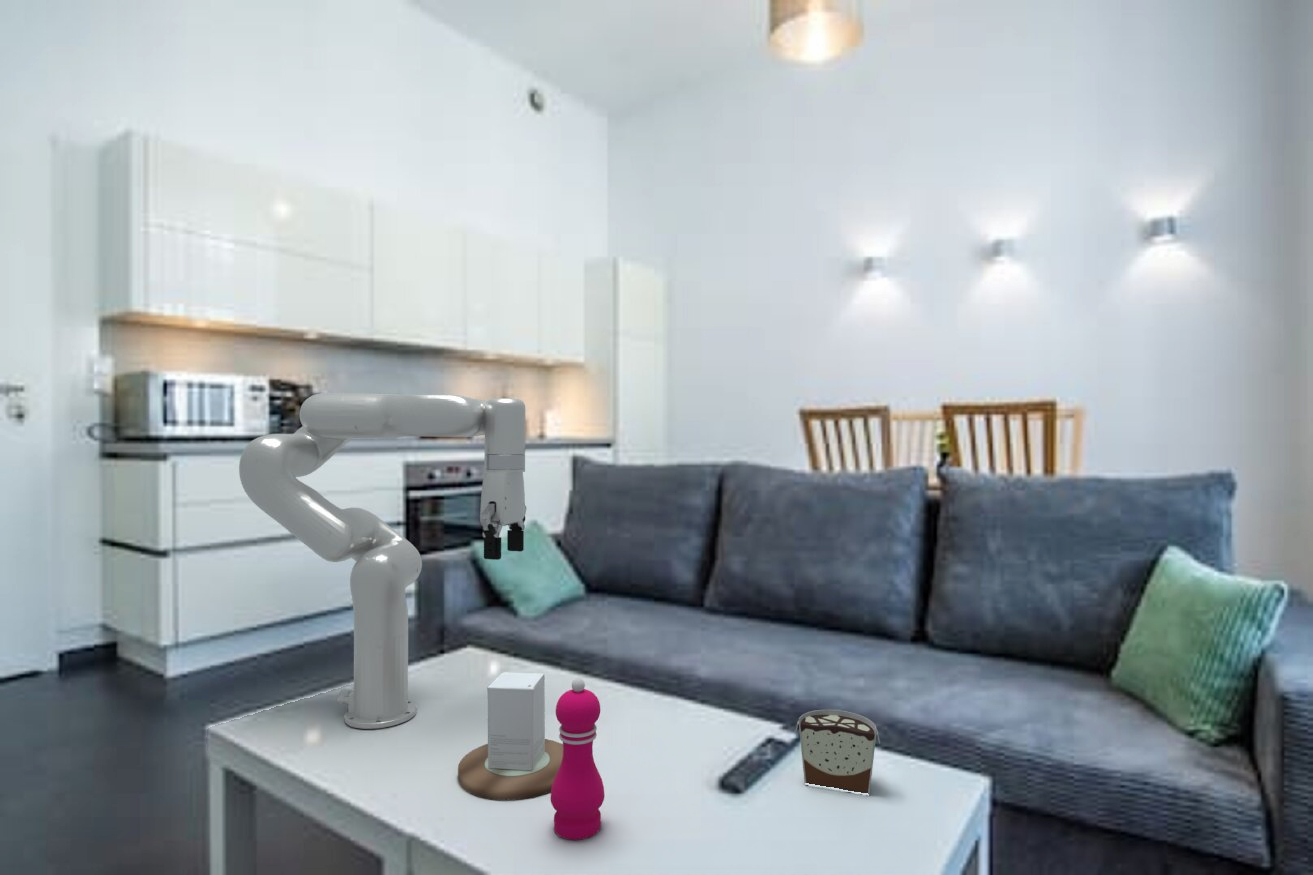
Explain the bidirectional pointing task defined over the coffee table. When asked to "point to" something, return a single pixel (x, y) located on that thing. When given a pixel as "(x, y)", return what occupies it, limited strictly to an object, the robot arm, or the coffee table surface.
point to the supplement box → (516, 721)
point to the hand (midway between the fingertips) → (504, 554)
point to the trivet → (509, 775)
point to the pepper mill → (577, 766)
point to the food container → (837, 749)
